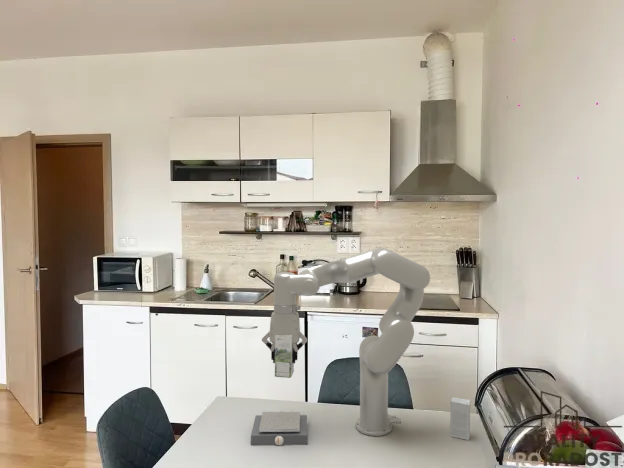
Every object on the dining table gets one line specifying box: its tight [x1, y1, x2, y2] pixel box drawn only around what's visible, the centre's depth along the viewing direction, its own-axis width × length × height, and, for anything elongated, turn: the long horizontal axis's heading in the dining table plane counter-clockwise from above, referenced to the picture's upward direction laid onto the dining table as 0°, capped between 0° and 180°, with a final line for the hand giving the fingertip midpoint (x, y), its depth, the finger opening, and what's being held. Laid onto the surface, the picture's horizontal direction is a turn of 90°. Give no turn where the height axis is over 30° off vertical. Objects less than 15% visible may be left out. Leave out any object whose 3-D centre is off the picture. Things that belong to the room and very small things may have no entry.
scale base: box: [250, 414, 308, 446], centre depth 145 cm, size 18×15×3 cm
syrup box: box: [274, 335, 295, 379], centre depth 147 cm, size 6×6×14 cm
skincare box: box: [449, 396, 471, 441], centre depth 145 cm, size 6×4×12 cm
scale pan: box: [259, 411, 301, 432], centre depth 146 cm, size 13×12×1 cm
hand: (284, 361), depth 147 cm, fingers closed on syrup box, 6 cm apart
